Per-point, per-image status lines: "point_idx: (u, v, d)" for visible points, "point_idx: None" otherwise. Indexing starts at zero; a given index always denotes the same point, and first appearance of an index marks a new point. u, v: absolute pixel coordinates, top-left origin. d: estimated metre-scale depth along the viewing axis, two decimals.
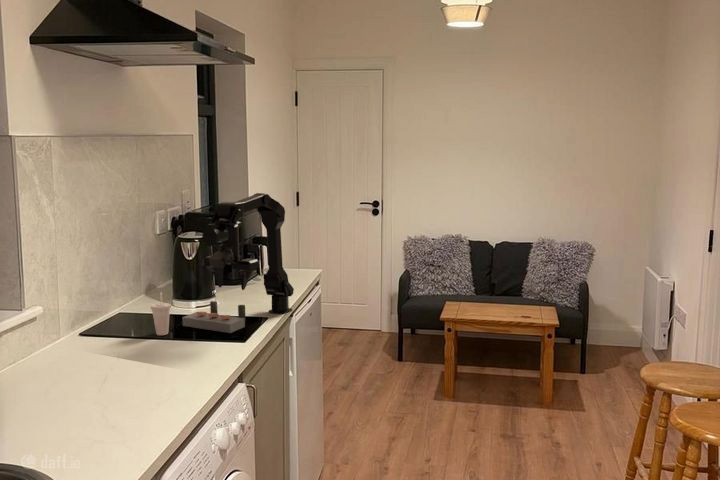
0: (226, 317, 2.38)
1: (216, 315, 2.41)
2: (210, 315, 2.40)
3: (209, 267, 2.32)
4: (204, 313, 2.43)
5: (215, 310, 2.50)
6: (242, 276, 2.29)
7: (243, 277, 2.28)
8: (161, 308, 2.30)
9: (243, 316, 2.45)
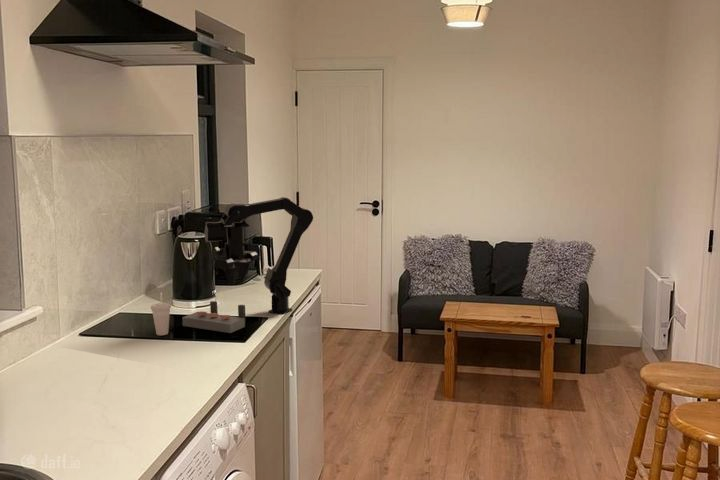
0: (226, 317, 2.38)
1: (216, 315, 2.41)
2: (210, 315, 2.40)
3: None
4: (204, 313, 2.43)
5: (215, 310, 2.50)
6: None
7: None
8: (161, 308, 2.30)
9: (243, 316, 2.45)
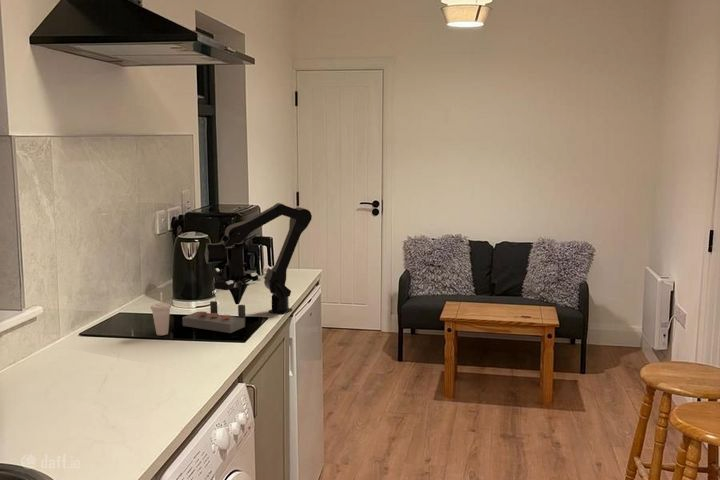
0: (226, 317, 2.38)
1: (216, 315, 2.41)
2: (210, 315, 2.40)
3: None
4: (204, 313, 2.43)
5: (215, 310, 2.50)
6: None
7: None
8: (161, 308, 2.30)
9: (243, 316, 2.45)
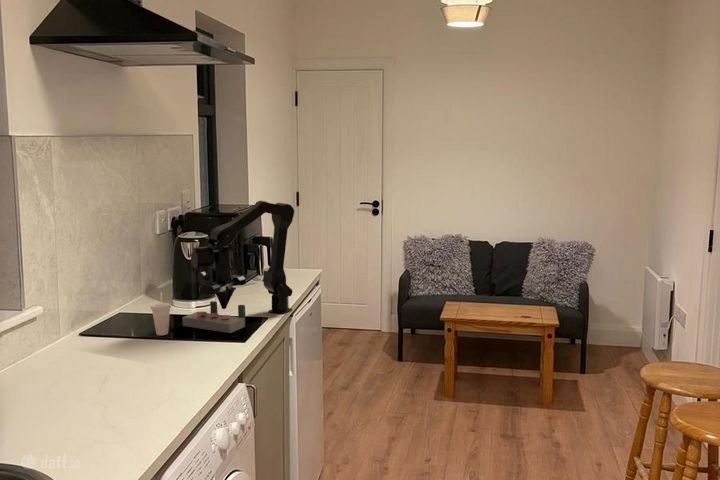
0: (226, 317, 2.38)
1: (216, 315, 2.41)
2: (210, 315, 2.40)
3: None
4: (204, 313, 2.43)
5: (215, 310, 2.50)
6: None
7: None
8: (161, 308, 2.30)
9: (243, 316, 2.45)
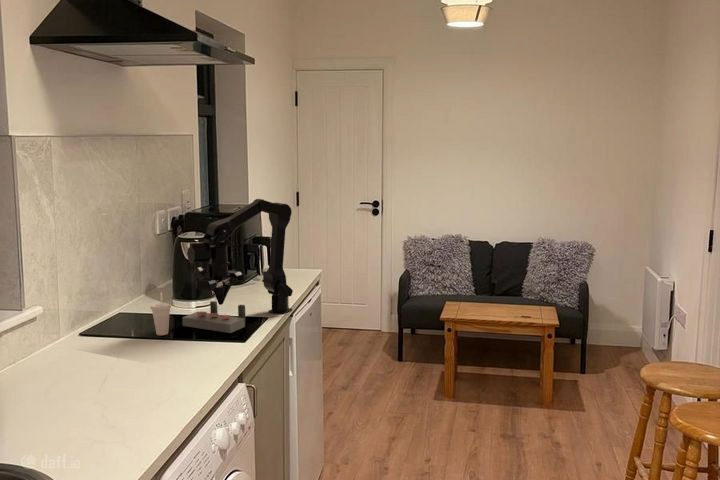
0: (226, 317, 2.38)
1: (216, 315, 2.41)
2: (210, 315, 2.40)
3: None
4: (204, 313, 2.43)
5: (215, 310, 2.50)
6: None
7: None
8: (161, 308, 2.30)
9: (243, 316, 2.45)
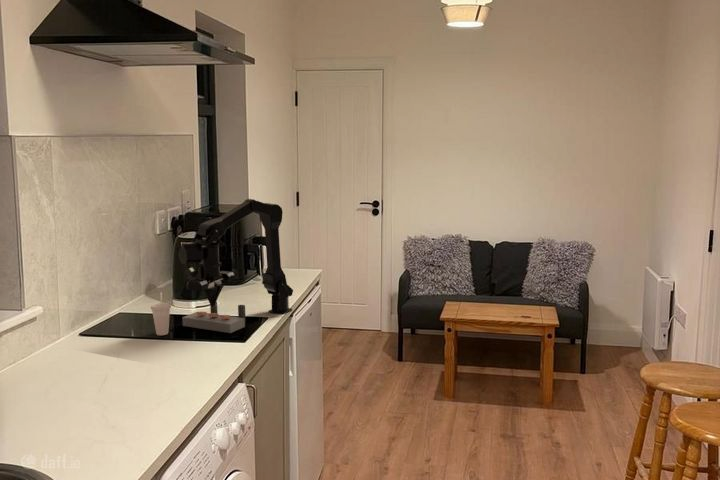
0: (226, 317, 2.38)
1: (216, 315, 2.41)
2: (210, 315, 2.40)
3: None
4: (204, 313, 2.43)
5: (215, 310, 2.50)
6: None
7: None
8: (161, 308, 2.30)
9: (243, 316, 2.45)
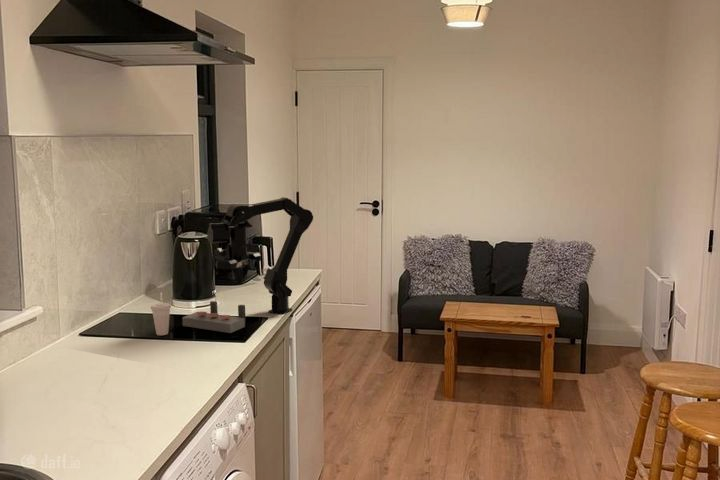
0: (226, 317, 2.38)
1: (216, 315, 2.41)
2: (210, 315, 2.40)
3: None
4: (204, 313, 2.43)
5: (215, 310, 2.50)
6: None
7: None
8: (161, 308, 2.30)
9: (243, 316, 2.45)
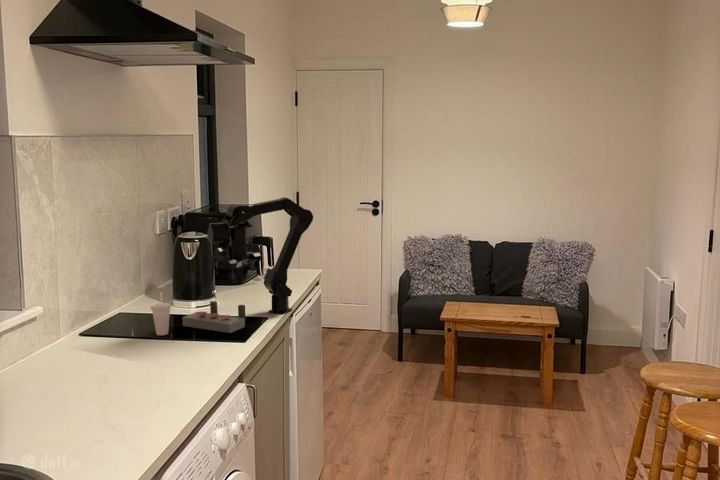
0: (226, 317, 2.38)
1: (216, 315, 2.41)
2: (210, 315, 2.40)
3: None
4: (204, 313, 2.43)
5: (215, 310, 2.50)
6: None
7: None
8: (161, 308, 2.30)
9: (243, 316, 2.45)
